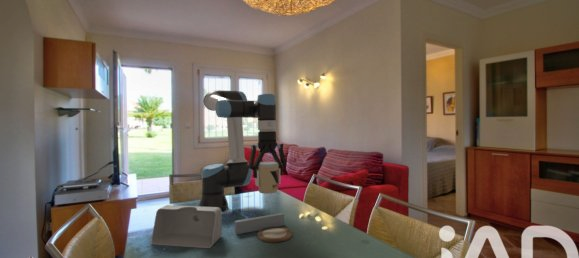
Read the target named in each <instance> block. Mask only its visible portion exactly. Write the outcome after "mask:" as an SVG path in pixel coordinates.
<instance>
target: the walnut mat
mask: <svg viewBox="0 0 579 258" xmlns="http://www.w3.org/2000/svg"><path fill="white" fill-rule="evenodd" d="M292 236H293V233H292V231H291V229H289V228H286V227H284V226H278V227H268V228H264V229H262V230H258V232H257V238H258V240H260V241H262V242H265V243H271V244H273V243H275V244H277V243H278V244H279V243H283V242H285V241H288V240H290V239H291V238H292Z"/></svg>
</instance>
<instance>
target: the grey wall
mask: <svg viewBox="0 0 579 258" xmlns="http://www.w3.org/2000/svg"><path fill="white" fill-rule="evenodd" d="M284 226H285V213H283V212H279V213H274V214H268V215H263V216H256V217H255V216H254V217H250V218H244V219H238V220H234V234H235V235H240V234H245V233H250V232H251V233H252V232H257V231H260V230H262V229H264V228H268V227H284Z"/></svg>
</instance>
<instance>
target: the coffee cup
mask: <svg viewBox="0 0 579 258" xmlns="http://www.w3.org/2000/svg"><path fill="white" fill-rule="evenodd" d="M278 166H279V164H278V162H275V161H261V162H260V164H259V166H258V168H257V170H259V186H258V192H259V193H260V194H265V195H267V194H275V193H277V192H278V187H279V186H278Z"/></svg>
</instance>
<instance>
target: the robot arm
mask: <svg viewBox="0 0 579 258" xmlns="http://www.w3.org/2000/svg"><path fill="white" fill-rule="evenodd" d="M202 101H203V105H204V107H205V108H206V109H207V110H209V111H214V112H215V114H216V116H217V117H218V118H223V119H226V124H227V144H228V160H227V162H226V165H224V164H223V163H214V164H210V165H206V166H204V167H203V168H202V169H201V176H200V177H201V198H200V200H199V204H198V206H200V207H219V208H220V209H221V212H223V211H225V210H227V209H228V208H229V203H228V200H227V197H226V195H225V188H226V189H227V188H234V187H235V188H236V187H243V186H247V185H249V184H250V183H251V181H252V178H254V181H255V183H254V185H255V186H256V187H259V170H257V168H258V166H259V164H260V162H262V158H263V157H264V155H265V154H271V155H272V157H273V159H274V162H278V164H279V166H278V184H280V185H281V180H282V179H281V178H282V177H281V176H283V168H284V167H286V166H287V161H286V157H285V152H284V143H280V142H279V143H277V132H276V129H277V114H276V113H277V112H276V111H277V109H276V107H277V106H276V105H277V102H276V101H277V100H276V96H275V94H274V93H259V94H257V99H256V100H248V98H247V96H246V93H244V91H241V90H240V91H239V90H220V89H217V90H212V91H211V90H210V91H209V92H207V93H206V94H205V95H204V97H203V100H202ZM244 118H245V119H246V118H252V119H257V130H258V132H257V138H258V142H257V144H256V143H255V144H251V146H250V148H251V149H250V150H251V152H250V158H249V162H248V160H247V159H246V158H245V143H244V129H243V124H244V123H243V119H244ZM276 148H277V150H278V153H279V156H278V154H277V151H276ZM258 149H259V150H258ZM257 150H258V151H259V152H258V154H257V157H256V153H257ZM255 158H256V159H255Z"/></svg>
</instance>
